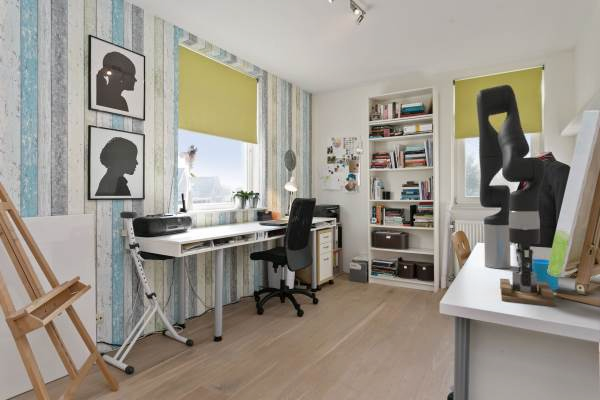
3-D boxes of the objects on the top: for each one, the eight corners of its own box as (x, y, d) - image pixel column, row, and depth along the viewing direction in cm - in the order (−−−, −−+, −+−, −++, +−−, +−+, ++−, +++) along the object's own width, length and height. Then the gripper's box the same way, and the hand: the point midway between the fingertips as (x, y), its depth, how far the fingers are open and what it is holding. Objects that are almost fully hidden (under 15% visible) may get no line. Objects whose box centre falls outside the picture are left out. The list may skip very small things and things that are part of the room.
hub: (512, 287, 105) (512, 270, 105) (535, 289, 102) (535, 272, 102) (513, 291, 100) (513, 274, 100) (537, 294, 97) (537, 276, 97)
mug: (559, 291, 105) (558, 264, 105) (526, 288, 109) (526, 262, 109) (557, 283, 115) (556, 258, 115) (527, 280, 119) (527, 256, 119)
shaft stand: (500, 287, 111) (499, 266, 111) (546, 291, 105) (545, 269, 105) (501, 300, 96) (501, 277, 96) (555, 306, 91) (554, 281, 91)
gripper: (507, 224, 109) (508, 276, 109) (510, 228, 96) (511, 287, 96) (536, 224, 105) (537, 278, 105) (543, 229, 93) (544, 290, 93)
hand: (524, 282), depth 101 cm, fingers open, 8 cm apart
